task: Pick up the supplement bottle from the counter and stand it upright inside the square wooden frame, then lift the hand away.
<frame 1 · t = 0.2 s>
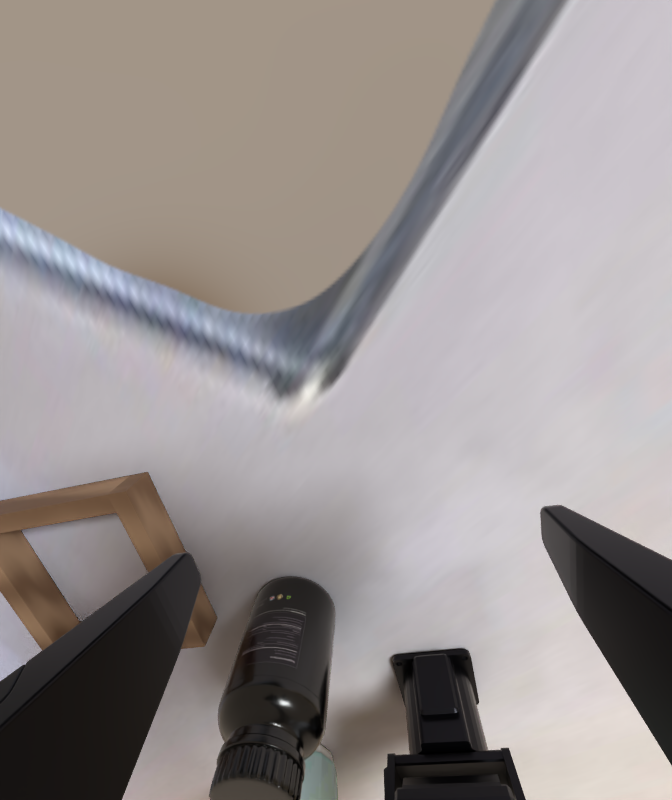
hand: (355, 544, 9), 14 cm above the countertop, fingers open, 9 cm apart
supplement bottle: (296, 601, 30), on the countertop
disposable coffee cup: (307, 755, 37), on the countertop
square wooden frame: (106, 562, 30), on the countertop
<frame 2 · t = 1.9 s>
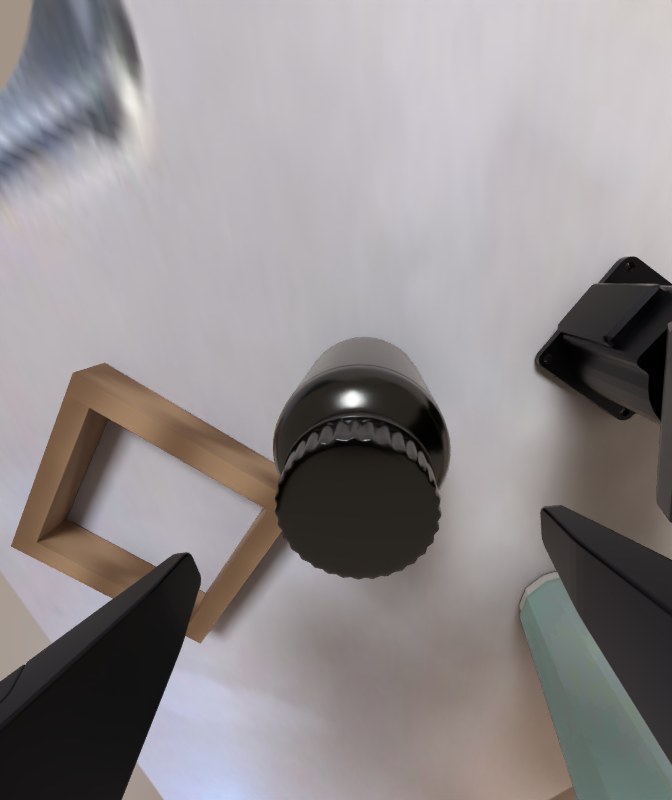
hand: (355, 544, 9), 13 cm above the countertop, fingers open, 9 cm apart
supplement bottle: (363, 389, 21), on the countertop
disposable coffee cup: (567, 599, 25), on the countertop
square wooden frame: (166, 503, 25), on the countertop
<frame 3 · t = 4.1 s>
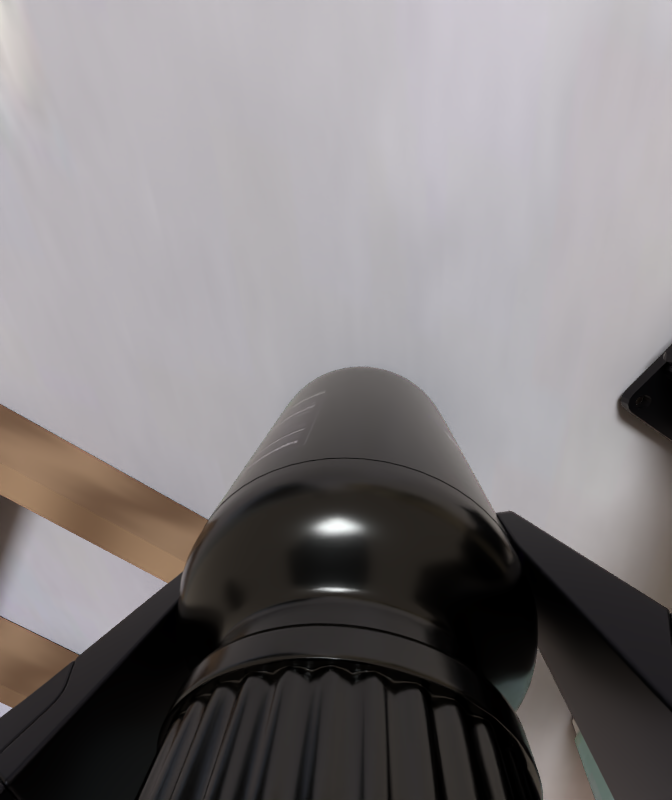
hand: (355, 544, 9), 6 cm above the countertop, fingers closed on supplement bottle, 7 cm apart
supplement bottle: (360, 439, 15), on the countertop, touching gripper
disposable coffee cup: (638, 713, 19), on the countertop
square wooden frame: (94, 584, 19), on the countertop
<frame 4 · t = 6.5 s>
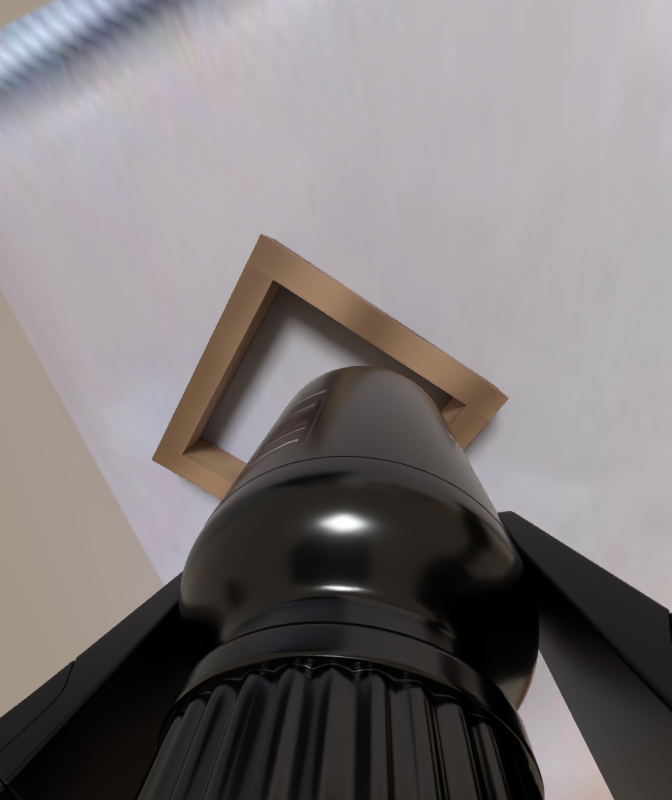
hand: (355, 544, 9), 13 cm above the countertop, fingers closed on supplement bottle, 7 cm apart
supplement bottle: (361, 438, 15), point 7 cm above the countertop, touching gripper
square wooden frame: (320, 415, 22), on the countertop
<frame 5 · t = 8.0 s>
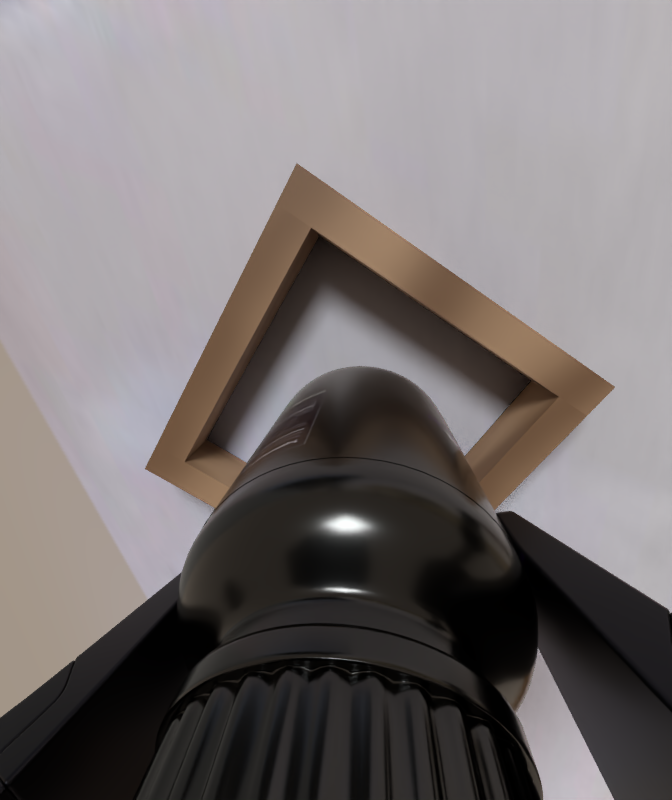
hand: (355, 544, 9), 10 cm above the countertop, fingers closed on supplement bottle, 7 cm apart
supplement bottle: (360, 438, 15), point 3 cm above the countertop, touching gripper
square wooden frame: (358, 412, 18), on the countertop
when the fingers open (8 cm above the countertop, at t = 9.2 s): supplement bottle drops 2 cm, resting in square wooden frame.
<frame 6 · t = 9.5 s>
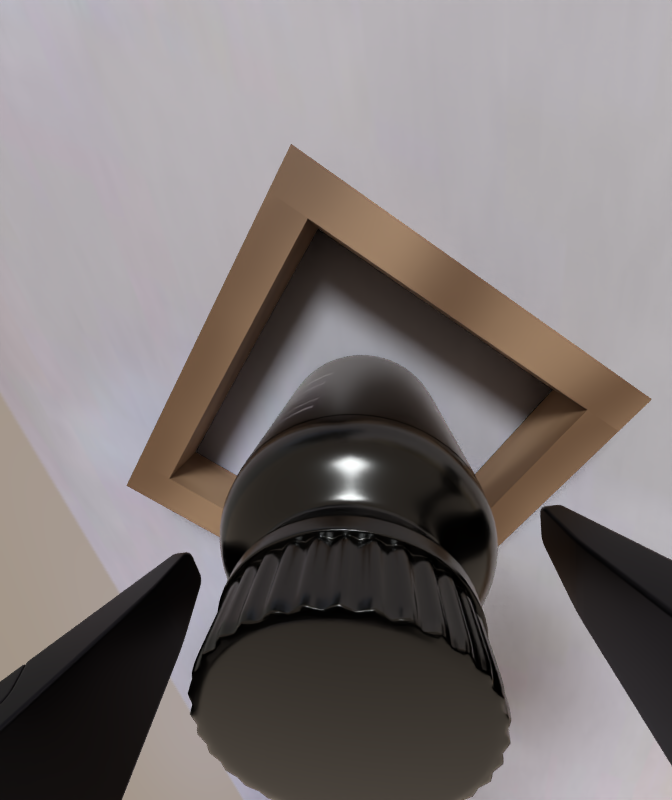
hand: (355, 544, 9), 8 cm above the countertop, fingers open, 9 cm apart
supplement bottle: (360, 420, 17), resting in square wooden frame
square wooden frame: (360, 423, 16), on the countertop
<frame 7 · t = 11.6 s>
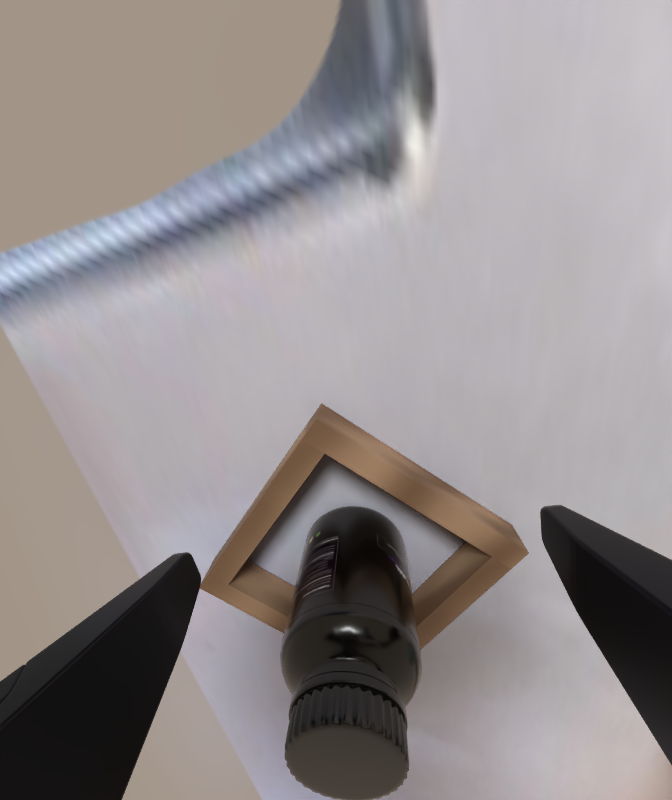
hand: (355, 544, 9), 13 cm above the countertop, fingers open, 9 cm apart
supplement bottle: (354, 540, 25), resting in square wooden frame
square wooden frame: (354, 543, 24), on the countertop
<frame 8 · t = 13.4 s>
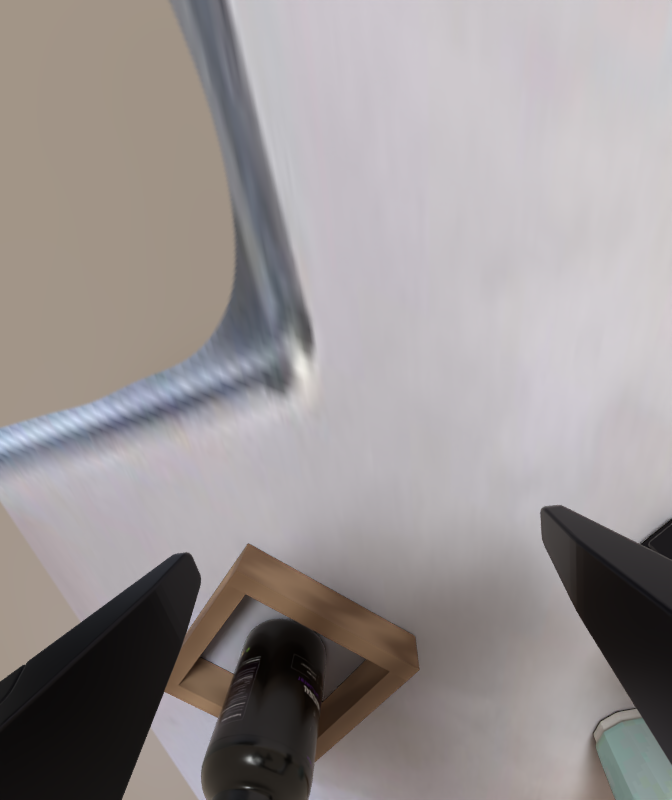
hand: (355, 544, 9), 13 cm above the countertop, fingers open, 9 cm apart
supplement bottle: (286, 643, 29), resting in square wooden frame
disposable coffee cup: (636, 729, 29), on the countertop
square wooden frame: (286, 646, 29), on the countertop
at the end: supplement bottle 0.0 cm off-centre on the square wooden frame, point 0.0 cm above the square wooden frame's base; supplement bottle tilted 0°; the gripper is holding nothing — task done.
